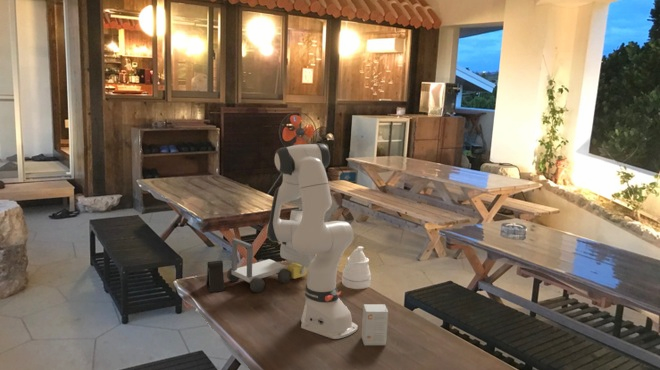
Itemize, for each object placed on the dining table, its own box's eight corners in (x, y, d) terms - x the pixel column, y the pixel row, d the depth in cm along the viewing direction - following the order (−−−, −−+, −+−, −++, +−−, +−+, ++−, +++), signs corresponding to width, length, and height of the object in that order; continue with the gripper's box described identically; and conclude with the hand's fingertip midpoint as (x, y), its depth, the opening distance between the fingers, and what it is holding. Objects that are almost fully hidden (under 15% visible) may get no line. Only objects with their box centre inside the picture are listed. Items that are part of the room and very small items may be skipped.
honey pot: (375, 287, 243) (378, 249, 240) (350, 290, 238) (352, 251, 234) (361, 276, 255) (364, 240, 251) (337, 280, 249) (339, 242, 246)
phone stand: (224, 291, 231) (224, 264, 228) (210, 292, 228) (210, 265, 226) (219, 283, 239) (219, 257, 236) (205, 284, 236) (205, 258, 234)
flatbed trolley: (264, 270, 257) (265, 228, 252) (291, 281, 245) (292, 237, 240) (226, 281, 241) (227, 237, 236) (253, 294, 229) (254, 247, 224)
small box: (382, 337, 197) (385, 303, 195) (386, 345, 191) (388, 311, 189) (360, 337, 197) (363, 303, 194) (363, 345, 190) (366, 311, 188)
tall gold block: (307, 274, 250) (307, 264, 249) (293, 278, 244) (294, 268, 243) (299, 271, 253) (300, 261, 252) (286, 275, 247) (287, 265, 246)
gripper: (319, 247, 241) (318, 276, 244) (288, 236, 254) (287, 264, 257) (309, 250, 236) (308, 280, 239) (278, 239, 250) (277, 267, 253)
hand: (297, 271), depth 248 cm, fingers closed on tall gold block, 5 cm apart
